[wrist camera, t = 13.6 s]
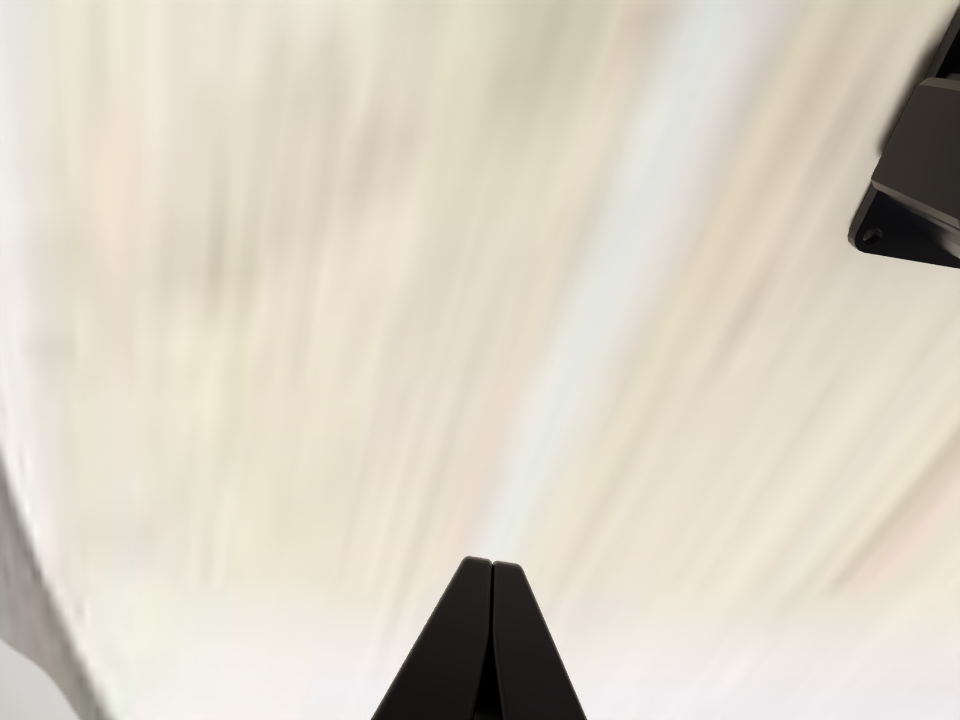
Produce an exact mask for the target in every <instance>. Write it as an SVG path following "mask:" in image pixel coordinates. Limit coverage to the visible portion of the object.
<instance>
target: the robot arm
mask: <svg viewBox="0 0 960 720" xmlns="http://www.w3.org/2000/svg"><path fill="white" fill-rule="evenodd" d="M871 180H872V185H871V187H870V189H869V191H868V193H867V195H866V197H865V199H864V201H863V203H862V205H861V207H860V209H859V211H858V213H857V215H856V217H855V219H854V221H853V223H852V225H851V227H850V229H849V233H848V241H849V243H850V244H851V245H852V246H853V247H855V248H856V249H858V250H859V251H862V252H864V253H870V254H876V255H882V256H888V257H894V258H900V259H905V260H911V261H917V262H923V263H929V264H935V265H941V266H947V267H953V268H959V269H960V10H959V12H958V13H957V14H956V16H955V17H954V20H953V22H952V24H951V26H950V28H949V30H948V32H947V34H946V36H945V38H944V40H943V42H942V44H941V46H940V48H939V50H938V52H937V54H936V56H935V58H934V60H933V62H932V64H931V66H930V68H929V70H928V72H927V74H926V76H925V78H924V80H923V81H922V82H921V83H920V84H918V85H917V86H916V87H915V89H914V91H913V93H912V95H911V97H910V99H909V101H908V103H907V105H906V107H905V109H904V111H903V113H902V115H901V117H900V119H899V121H898V123H897V126H896V128H895V130H894V132H893V134H892V136H891V138H890V140H889V142H888V144H887V146H886V148H885V150H884V152H883V154H882V156H881V158H880V160H879V162H878V164H877V166H876V168H875V170H874V172H873V174H872V177H871ZM872 228H875V233H874V235H873V236H872V237H871V238H869V239H867V240H863V238H864V235H865V233H866V232H867V231H868V230H870V229H872ZM371 720H587V718H586V716H585V714H584V711H583V709H582V707H581V704H580V702H579V699H578V697H577V695H576V692H575V690H574V688H573V685H572V683H571V681H570V678H569V676H568V674H567V671H566V669H565V667H564V664H563V662H562V660H561V657H560V655H559V653H558V650H557V648H556V646H555V643H554V641H553V639H552V636H551V634H550V632H549V629H548V627H547V625H546V622H545V620H544V618H543V615H542V613H541V610H540V608H539V606H538V603H537V601H536V599H535V596H534V594H533V592H532V589H531V587H530V585H529V582H528V580H527V578H526V575H525V573H524V571H523V569H522V567H521V566H520V565H518V564H515V563H509V562H503V561H495V562H494V563H493V564H492V562H491V561H490V560H488V559H484V558H478V557H472V556H467V557H465V558H464V559H463V560H462V562H461V564H460V565H459V567H458V569H457V571H456V572H455V574H454V576H453V578H452V579H451V581H450V583H449V585H448V586H447V588H446V590H445V592H444V593H443V595H442V597H441V598H440V600H439V602H438V604H437V605H436V607H435V609H434V611H433V612H432V614H431V616H430V618H429V619H428V621H427V623H426V625H425V626H424V628H423V630H422V632H421V633H420V635H419V637H418V639H417V640H416V642H415V644H414V645H413V647H412V649H411V651H410V652H409V654H408V656H407V658H406V659H405V661H404V663H403V665H402V666H401V668H400V670H399V672H398V673H397V675H396V677H395V679H394V680H393V682H392V684H391V686H390V687H389V689H388V691H387V693H386V694H385V696H384V698H383V699H382V701H381V703H380V705H379V706H378V708H377V710H376V712H375V713H374V715H373V717H372V719H371Z"/></svg>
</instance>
